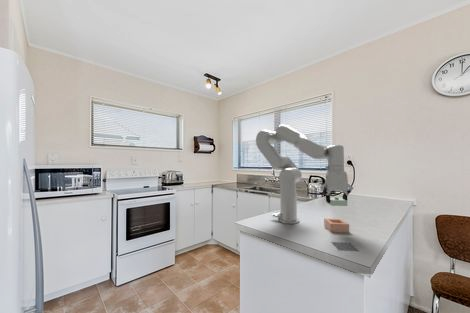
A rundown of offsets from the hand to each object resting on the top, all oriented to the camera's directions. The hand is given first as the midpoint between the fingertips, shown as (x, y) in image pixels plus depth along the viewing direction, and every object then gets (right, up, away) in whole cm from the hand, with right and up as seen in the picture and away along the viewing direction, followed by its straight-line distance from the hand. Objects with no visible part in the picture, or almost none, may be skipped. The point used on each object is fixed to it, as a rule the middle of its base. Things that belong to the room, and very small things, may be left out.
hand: (336, 202), depth 104 cm
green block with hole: (0, -1, 0) cm, 1 cm away
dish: (0, -14, 0) cm, 14 cm away
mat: (-7, -14, -21) cm, 26 cm away
